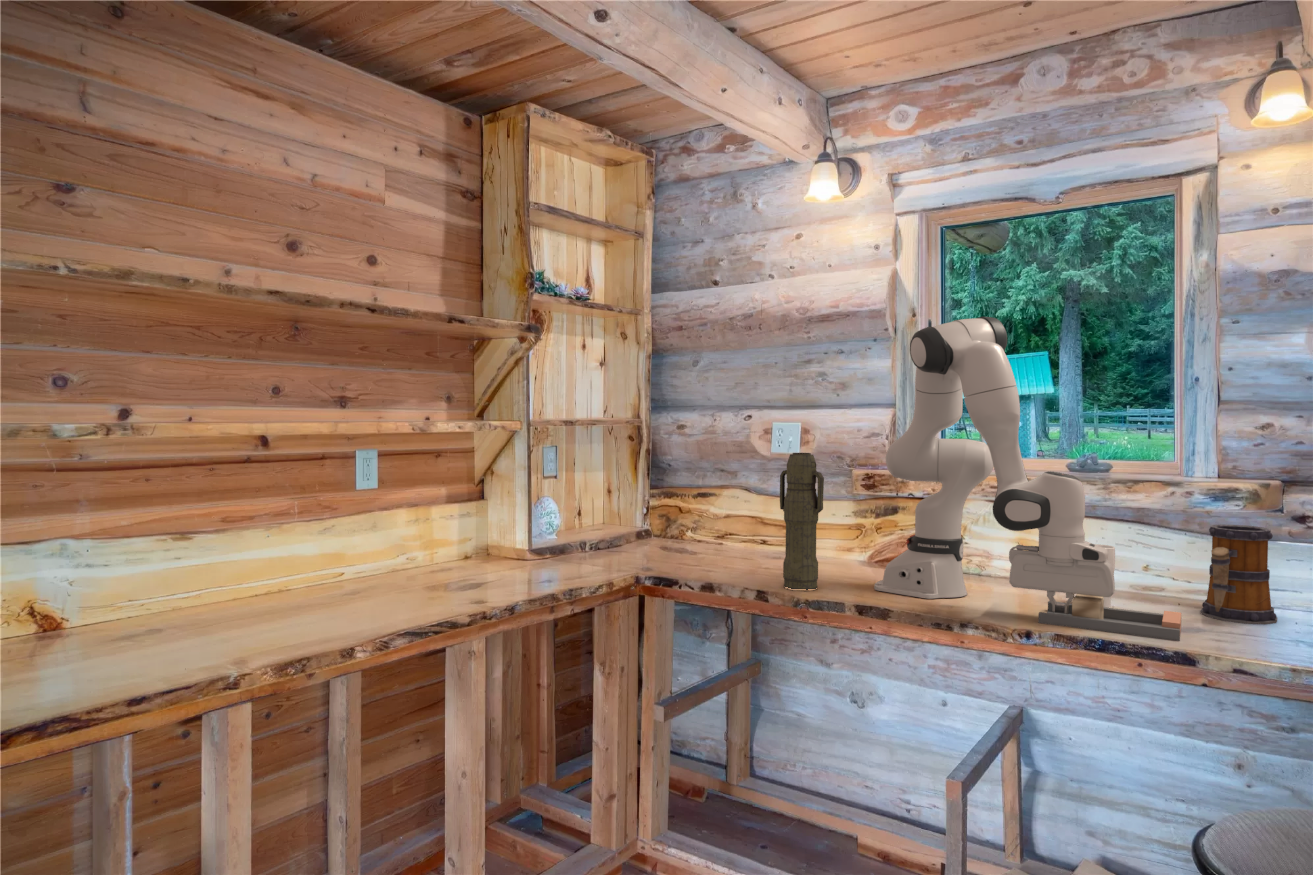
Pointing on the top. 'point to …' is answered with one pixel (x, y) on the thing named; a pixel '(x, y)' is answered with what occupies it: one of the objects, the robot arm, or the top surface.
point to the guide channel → (1120, 622)
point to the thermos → (801, 520)
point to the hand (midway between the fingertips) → (1060, 612)
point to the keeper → (1088, 606)
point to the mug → (1239, 575)
